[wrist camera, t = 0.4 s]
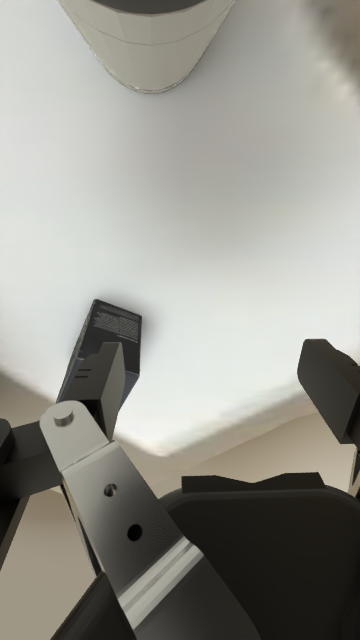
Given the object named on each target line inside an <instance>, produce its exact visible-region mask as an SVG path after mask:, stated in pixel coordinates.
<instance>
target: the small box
mask: <svg viewBox="0 0 360 640" xmlns="http://www.w3.org/2000/svg"><path fill="white" fill-rule="evenodd" d="M141 324H142V317H141V316H140V315H137V314H134V313H132V312H129V311H127V310H124V309H121V308H119V307H116V306H113V305H110V304H107V303H105V302H102V301H99V300H96V299H95V300H94V301H93V304H92V306H91V308H90V311H89V313H88V316H87V318H86V321H85V323H84V326H83V328H82V331H81V333H80V336H79V337H78V341H77V342H76V346H75V347H74V351H73V354H72V356H71V359H70V362H69V365H68V368H67V371H66V375H65V378H64V381H63V384H62V387H61V389H60V392H59V395H58V398H57V401H56V404H58V403H60V402H62V400H63V398H64V396H65V394H66V392H67V390H68V388H69V386H70V384H71V382H72V380H73V378H75V374H76V372H77V371H78V368H79V366H80V364H81V363H82V361H83V360H84V359H85V358H87V357H88V356H89V355H90V354H98V353H99V351H100V348H101V346H102V344H103V343H104V342H121V344H122V349H123V358H124V366H125V386H124V390H123V394H122V398H121V403H120V407H119V410H120V408H121V407H122V405H123V403H124V402H125V400H126V398H127V397H128V395H129V393H130V392H131V390H132V388H133V387H134V385H135V383H136V381H137V380H138V378H139V376H140V375H139V373H140V346H141ZM118 412H119V411H118Z"/></svg>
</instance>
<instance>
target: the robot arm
mask: <svg viewBox="0 0 360 640" xmlns="http://www.w3.org/2000/svg"><path fill="white" fill-rule="evenodd" d="M57 1H58V2H59V3H60V5H61V6H62V8H63V9H64V11H65V12H66V14H67V15H68V16H69V18H70V19H71V21H72V22H73V24H74V25H75V26H76V28H77V29H78V31H79V32H80V34H81V35H82V37H83V38H84V39H85V41H86V42H87V44H88V45H89V47H90V48H91V50H92V51H93V53H94V54H95V55H96V57H97V58H98V60H99V61H100V62H101V64H102V65H103V66H104V67H105V69H106V70H107V71H108V72H109V73H110V75H112V76H113V77H114V78H115V79H116V80H117V81H119V82H120V83H121V84H122V85H124V86H126V87H128V88H130V89H132V90H134V91H138V92H142V93H160V92H163V91H167V90H170V89H171V88H173V87H175V86H176V85H178V84H180V83H181V82H182V81H183V80H184V79H185V78H186V77H187V76H188V75H189V74H190V73H191V71H192V70H193V68H194V67H195V65H196V64H197V62H198V60H199V59H200V58H201V56H202V55H203V53H204V51H205V50H206V48H207V47H208V45H209V43H210V42H211V40H212V39H213V37H214V35H215V34H216V32H217V30H218V29H219V27H220V26H221V24H222V22H223V21H224V19H225V17H226V16H227V14H228V13H229V11H230V9H231V8H232V6H233V4H234V3H235V1H236V0H57ZM297 375H298V379H299V382H300V383H301V385H302V387H303V388H304V390H305V391H306V393H307V394H308V396H309V397H310V399H311V400H312V402H313V403H314V405H315V406H316V408H317V409H318V411H319V412H320V414H321V416H322V417H323V419H324V420H325V422H326V423H327V425H328V426H329V428H330V429H331V430H332V432H333V434H334V435H335V437H336V438H337V440H338V441H339V443H340V444H355V445H356V447H357V448H356V451H355V453H354V459H353V464H352V471H351V476H350V483H349V489H348V493H346V492H344V491H342V490H339V489H337V488H334V487H331V486H328V485H325V484H324V482H323V480H322V478H321V476H320V475H319V473H318V472H315V473H314V472H313V473H312V472H311V473H284V474H281V475H279V476H275V477H272V478H269V479H266V480H263V481H259V482H256V483H248V482H244V481H239V480H234V479H230V478H225V477H220V476H216V475H213V476H182V488H180V489H177V490H174V491H172V492H170V493H168V494H166V495H164V496H163V497H161V498H160V499H157V497H156V496H155V494H154V493H153V492H152V490H151V489H150V487H149V486H148V484H147V483H146V482H145V480H144V479H143V477H142V476H141V475H140V473H139V472H138V470H137V469H136V468H135V466H134V465H133V463H132V462H131V461H130V459H129V458H128V456H127V455H126V454H125V452H124V451H123V449H122V448H121V446H120V445H119V444H118V443H117V442H116V441H115V440H113V441H112V437H113V432H114V428H115V424H116V420H117V415H118V411H119V407H120V403H121V398H122V394H123V390H124V386H125V366H124V358H123V349H122V344H121V342H104V343H103V344H102V346H101V348H100V351H99V353H98V354H90V355H89V356H88V357H87V358H85V359H84V360H83V361H82V363H81V364H80V366H79V368H78V371H77V372H76V374H75V378H73V380H72V382H71V384H70V386H69V388H68V390H67V392H66V394H65V396H64V398H63V400H62V402H60V403H58V404H55V405H53V406H52V407H50V408H49V409H48V410H46V411H45V412H44V414H43V415H42V417H41V418H40V420H39V421H37V422H34V423H30V424H26V425H22V426H19V427H15V428H11V426H10V424H9V422H8V421H7V420H5V419H1V418H0V570H1V568H2V565H3V563H4V560H5V557H6V555H7V553H8V550H9V547H10V545H11V542H12V540H13V537H14V535H15V533H16V530H17V527H18V525H19V522H20V520H21V517H22V515H23V512H24V510H25V507H26V505H27V502H28V500H29V497H30V495H32V494H35V493H38V492H41V491H44V490H47V489H50V488H53V487H56V486H59V487H60V489H61V492H62V494H63V496H64V499H65V501H66V504H67V506H68V509H69V511H70V513H71V516H72V518H73V521H74V523H75V525H76V528H77V530H78V533H79V535H80V538H81V541H82V544H83V547H84V549H85V552H86V555H87V557H88V560H89V562H90V565H91V567H92V570H93V572H94V575H95V577H96V578H95V580H94V581H93V583H92V584H91V585H90V587H89V588H88V589H87V591H86V592H85V593H84V595H83V596H82V598H81V599H80V600H79V602H78V603H77V604H76V606H75V607H74V608H73V610H72V611H71V612H70V614H69V615H68V616H67V618H66V619H65V620H64V622H63V623H62V624H61V626H60V627H59V629H58V630H57V631H56V632H55V634H54V635H53V637H52V638H51V639H50V640H360V366H358V364H357V363H356V362H355V361H354V360H353V359H352V358H351V357H350V356H348V355H346V354H344V353H343V352H341V351H339V350H336V349H335V348H334V347H333V346H332V345H331V344H330V343H329V342H328V341H327V340H326V339H306V340H305V341H304V343H303V346H302V351H301V355H300V360H299V364H298V369H297Z"/></svg>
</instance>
